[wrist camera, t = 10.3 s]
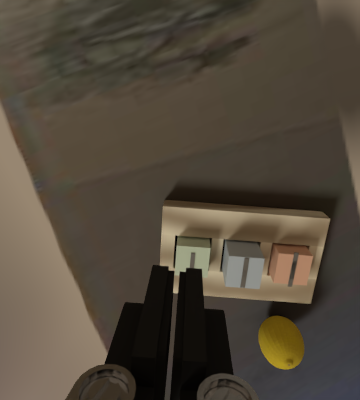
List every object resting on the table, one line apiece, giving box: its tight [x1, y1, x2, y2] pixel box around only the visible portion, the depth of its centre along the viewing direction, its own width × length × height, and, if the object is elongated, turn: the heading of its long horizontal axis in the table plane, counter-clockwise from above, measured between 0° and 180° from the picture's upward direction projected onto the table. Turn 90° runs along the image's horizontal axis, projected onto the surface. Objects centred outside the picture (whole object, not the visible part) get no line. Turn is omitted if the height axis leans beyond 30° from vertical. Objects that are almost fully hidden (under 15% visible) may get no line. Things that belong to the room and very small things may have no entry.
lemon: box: [259, 316, 304, 369], centre depth 42 cm, size 6×6×8 cm
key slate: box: [222, 239, 265, 289], centre depth 38 cm, size 4×4×4 cm
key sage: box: [175, 236, 211, 278], centre depth 40 cm, size 4×4×4 cm
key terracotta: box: [268, 243, 313, 287], centre depth 40 cm, size 5×4×4 cm
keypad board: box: [160, 200, 330, 304], centre depth 41 cm, size 12×20×2 cm, turn 86°
